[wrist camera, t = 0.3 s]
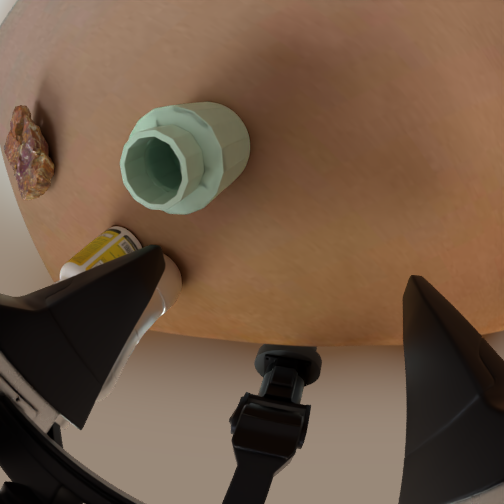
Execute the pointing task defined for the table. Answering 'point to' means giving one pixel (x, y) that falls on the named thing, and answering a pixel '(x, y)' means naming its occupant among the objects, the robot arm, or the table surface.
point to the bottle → (184, 156)
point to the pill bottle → (101, 251)
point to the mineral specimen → (28, 155)
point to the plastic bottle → (142, 325)
